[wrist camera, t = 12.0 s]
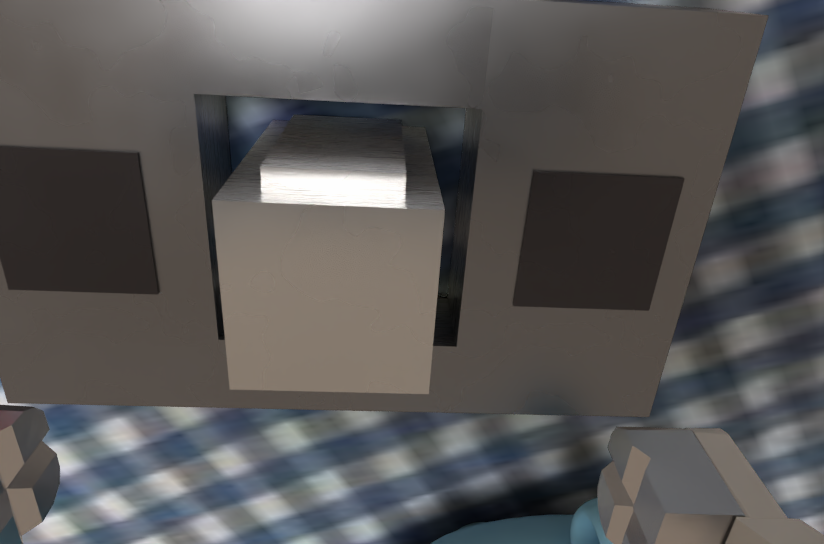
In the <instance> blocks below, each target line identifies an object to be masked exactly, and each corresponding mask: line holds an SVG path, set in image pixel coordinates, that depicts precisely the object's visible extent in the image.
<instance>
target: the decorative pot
mask: <svg viewBox="0 0 824 544" xmlns="http://www.w3.org/2000/svg"><path fill="white" fill-rule="evenodd" d="M430 544H613V543H612V542H611V541H610V540H609V539H607V538H606V536H605V533H604V530H603V528H602V525H601V522H600V516H599V511H598V497H597V498H594V499H592V500H589V501H587V502H585V503H584V504H583V505H582V506H580V507H579V508H578V509H577V511H576V512H575V514H574V515H538V516H526V517H518V518H510V519H503V520H498V521H492V522H476V523H471V524H468V525H465V526H463V527H461V528H460V529H458V530H457V531H454V532H452V533H449V534H447V535H444V536H442V537H441V538H439V539H437V540H435V541H434V542H432V543H430Z"/></svg>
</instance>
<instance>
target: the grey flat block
mask: <svg viewBox="0 0 824 544" xmlns="http://www.w3.org/2000/svg"><path fill="white" fill-rule="evenodd" d="M768 16H769V15H761V14H752V13H744V12H735V11H727V10H718V9H710V8H696V7H680V6H664V5H649V4H633V3H618V2H602V1H586V0H0V379H1V382H2V385H3V389H4V392H5V395H6V398H7V402H8V403H35V404H80V405H126V406H171V407H216V408H262V409H307V410H352V411H398V412H443V413H489V414H534V415H579V416H625V417H649V415H650V412H651V408H652V405H653V402H654V398H655V395H656V392H657V388H658V385H659V382H660V378H661V375H662V372H663V368H664V365H665V361H666V358H667V355H668V351H669V348H670V345H671V341H672V338H673V335H674V331H675V328H676V325H677V321H678V318H679V314H680V311H681V308H682V304H683V301H684V298H685V294H686V291H687V288H688V284H689V281H690V278H691V274H692V271H693V267H694V264H695V261H696V257H697V254H698V251H699V247H700V244H701V241H702V237H703V234H704V231H705V227H706V224H707V220H708V217H709V214H710V210H711V207H712V204H713V200H714V197H715V194H716V190H717V187H718V184H719V180H720V177H721V173H722V170H723V167H724V163H725V160H726V157H727V153H728V150H729V147H730V143H731V140H732V137H733V133H734V130H735V126H736V123H737V120H738V116H739V113H740V110H741V106H742V103H743V100H744V96H745V93H746V90H747V86H748V83H749V79H750V76H751V73H752V69H753V66H754V63H755V59H756V56H757V53H758V49H759V46H760V43H761V39H762V36H763V32H764V29H765V26H766V22H767V19H768ZM226 96H245V97H264V98H283V99H302V100H321V101H340V102H359V103H378V104H397V105H416V106H435V107H454V108H466V114H465V124H464V134H463V144H462V155H461V165H460V175H459V185H458V196H457V206H456V216H455V227H454V237H453V247H452V257H451V268H450V278H449V288H448V298H439V297H437V306H436V317H435V328H434V340H433V351H432V362H431V374H430V385H429V394H400V393H357V392H315V391H272V390H230V387H229V377H228V366H227V355H226V345H225V334H224V324H223V313H222V303H221V292H220V282H219V271H218V260H217V250H216V239H215V229H214V218H213V208H212V200H213V198H214V197H215V196H216V194H217V193H218V192H219V190H220V189H221V188H222V186H223V185H224V184H225V182H226V181H227V180H228V178H229V177H230V176H231V175H232V172H231V159H230V146H229V133H228V120H227V107H226Z"/></svg>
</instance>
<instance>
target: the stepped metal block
mask: <svg viewBox="0 0 824 544" xmlns="http://www.w3.org/2000/svg"><path fill="white" fill-rule="evenodd" d="M212 208H213V218H214V229H215V239H216V250H217V260H218V271H219V282H220V292H221V303H222V313H223V324H224V334H225V345H226V355H227V366H228V377H229V387H230V390H272V391H315V392H357V393H400V394H429V385H430V374H431V362H432V351H433V340H434V328H435V317H436V306H437V295H438V283H439V272H440V261H441V249H442V238H443V227H444V215H445V208H444V204H443V200H442V196H441V192H440V188H439V184H438V180H437V175H436V171H435V167H434V163H433V159H432V155H431V151H430V147H429V143H428V139H427V134H426V130H425V127H409V126H402V123H401V120H393V119H373V118H353V117H334V116H314V115H293V116H292V118H291V120H290V121H289V120H273V121H272V122H271V123H270V124H269V126H268V127H267V128H266V130H265V131H264V132H263V134H262V135H261V136H260V138H259V139H258V140H257V142H256V143H255V144H254V146H253V147H252V148H251V149H250V151H249V152H248V153H247V155H246V156H245V157H244V159H243V160H242V161H241V163H240V164H239V165H238V167H237V168H236V169H235V171H234V172H233V173H232V175H231V176H230V177H229V178H228V180H227V181H226V182H225V184H224V185H223V186H222V188H221V189H220V190H219V192H218V193H217V194H216V196H215V197H214V198H213V200H212Z"/></svg>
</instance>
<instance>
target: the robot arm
mask: <svg viewBox="0 0 824 544" xmlns="http://www.w3.org/2000/svg"><path fill="white" fill-rule="evenodd" d="M48 431H49V426H48V423H47V420H46V417H45V414H44V412H43V411H42V410H40V409H37V408H35V407H27V406H9V405H0V544H23V540H22V535H23V534H25V533H26V532H28V531H29V530H31V529H33V528H34V527H36V526H37V525H39V524H40V523H42V522H43V520H44V519H45V517H46V515H47V514H48V512H49V510H50V509H51V507H52V506H53V504H54V500H55V497H56V494H57V491H58V487H59V484H60V466H59V462H58V458H57V454H56V453H55V452H54V451H53V450H52V449H51V448H49V447H48V446H47V445H46V444H45V443H44V442H42V440H43V438H44V437H45V435H46V434H47V432H48ZM608 450H609V452H610V455H611V457H612V459H613V461H612V462H611V463H610V464H609V465H607V466H606V467H605V468H604V469H602V470H601V474H600V479H599V483H598V488H597V491H598V511H599V516H600V522H601V525H602V528H603V530H604V533H605V536H606V538H607V539H609V540H610V541H611V542H612V543H613V544H824V535H823V534H821V533H820V532H818V531H817V530H815V529H814V528H812V527H811V526H809V525H808V524H806V523H805V522H803V521H802V520H800V519H788V518H787V516H786V515H785V514H784V512H783V511H782V509H781V508H780V506H779V505H778V504H777V502H776V501H775V499H774V498H773V497H772V495H771V494H770V492H769V491H768V489H767V488H766V487H765V485H764V484H763V482H762V481H761V480H760V478H759V477H758V475H757V474H756V472H755V471H754V470H753V468H752V467H751V465H750V464H749V463H748V461H747V460H746V458H745V457H744V455H743V454H742V453H741V451H740V450H739V448H738V447H737V445H736V444H735V443H734V441H733V440H732V438H731V437H730V436H729V434H728V433H726V432H725V431H723V430H722V429H720V428H685V429H681V428H645V427H616V428H615V430H614V431H613V433H612V434H611V437H610V441H609V444H608Z"/></svg>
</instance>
